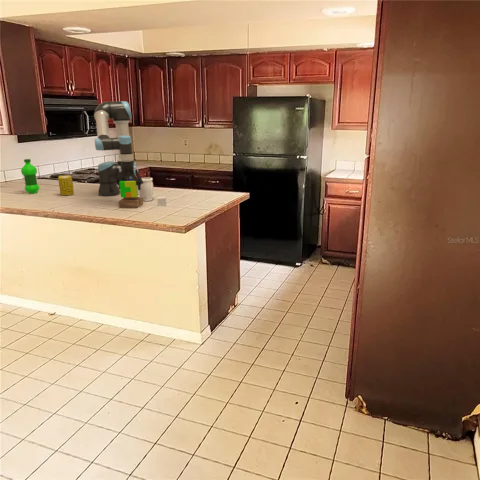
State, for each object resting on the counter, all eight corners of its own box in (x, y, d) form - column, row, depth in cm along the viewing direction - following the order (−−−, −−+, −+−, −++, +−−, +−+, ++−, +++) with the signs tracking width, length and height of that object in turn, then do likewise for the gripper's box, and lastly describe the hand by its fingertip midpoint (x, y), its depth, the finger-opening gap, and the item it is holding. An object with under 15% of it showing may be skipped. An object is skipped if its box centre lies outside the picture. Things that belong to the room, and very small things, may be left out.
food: (73, 194, 317) (73, 198, 308) (56, 192, 312) (56, 196, 304) (75, 175, 313) (76, 177, 304) (58, 172, 308) (58, 175, 299)
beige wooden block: (158, 204, 281) (158, 196, 279) (166, 204, 281) (165, 196, 279) (157, 206, 276) (157, 198, 274) (165, 205, 276) (164, 198, 275)
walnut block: (125, 204, 283) (125, 196, 282) (143, 204, 282) (142, 196, 281) (119, 208, 272) (118, 201, 270) (137, 208, 271) (136, 201, 269)
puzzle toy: (139, 193, 280) (138, 178, 276) (136, 197, 270) (135, 181, 267) (124, 193, 279) (122, 178, 276) (120, 197, 270) (119, 182, 267)
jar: (138, 199, 295) (136, 177, 290) (152, 197, 298) (151, 176, 294) (140, 202, 286) (138, 180, 281) (155, 201, 289) (153, 179, 284)
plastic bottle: (36, 194, 313) (30, 160, 305) (22, 194, 313) (16, 160, 305) (42, 191, 322) (37, 158, 314) (29, 191, 323) (23, 158, 315)
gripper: (107, 161, 266) (111, 195, 274) (141, 161, 262) (144, 196, 269) (113, 159, 273) (116, 192, 281) (146, 160, 268) (149, 194, 276)
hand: (130, 194), depth 275 cm, fingers closed on puzzle toy, 11 cm apart
